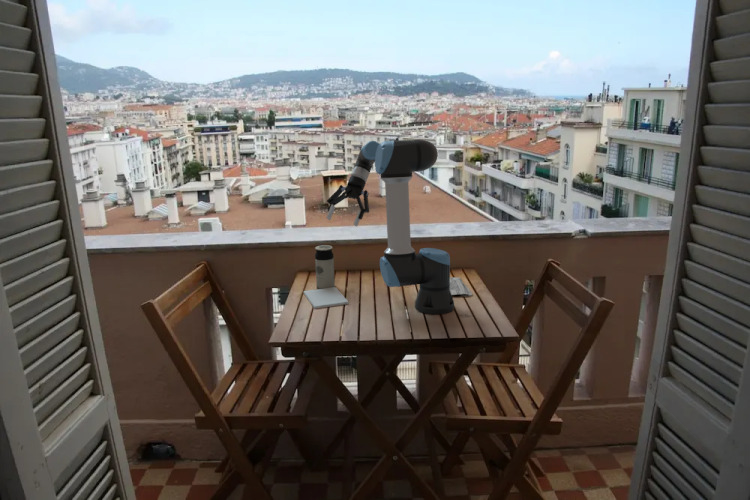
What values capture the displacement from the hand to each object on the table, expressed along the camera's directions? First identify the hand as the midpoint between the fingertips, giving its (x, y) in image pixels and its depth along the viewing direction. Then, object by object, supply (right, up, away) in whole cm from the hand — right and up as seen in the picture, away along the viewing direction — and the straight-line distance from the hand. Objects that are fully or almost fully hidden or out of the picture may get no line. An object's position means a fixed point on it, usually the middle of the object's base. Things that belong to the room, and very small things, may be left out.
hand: (341, 222), depth 241 cm
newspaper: (+49, -29, -3) cm, 57 cm away
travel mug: (-7, -28, +3) cm, 30 cm away
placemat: (-6, -32, -12) cm, 35 cm away
